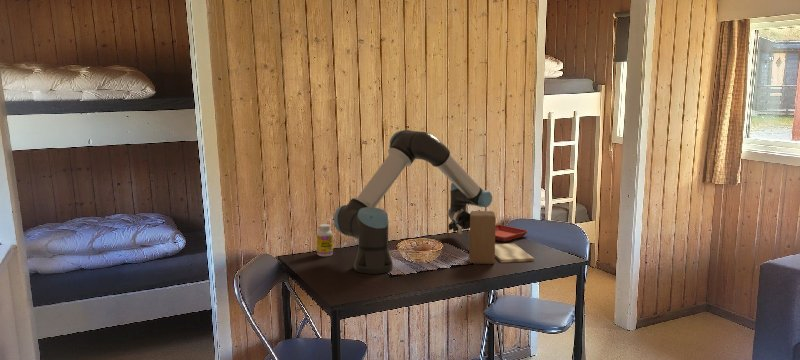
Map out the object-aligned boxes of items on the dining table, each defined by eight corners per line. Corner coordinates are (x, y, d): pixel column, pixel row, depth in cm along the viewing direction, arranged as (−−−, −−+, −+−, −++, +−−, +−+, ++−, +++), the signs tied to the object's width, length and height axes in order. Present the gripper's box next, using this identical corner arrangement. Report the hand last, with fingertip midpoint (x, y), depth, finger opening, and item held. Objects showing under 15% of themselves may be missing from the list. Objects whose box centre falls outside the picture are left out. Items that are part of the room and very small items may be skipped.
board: (500, 262, 253) (501, 259, 253) (483, 247, 276) (483, 244, 276) (533, 261, 255) (533, 258, 255) (514, 246, 278) (514, 243, 278)
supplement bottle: (319, 257, 260) (319, 227, 258) (315, 253, 266) (314, 224, 264) (335, 255, 263) (334, 226, 261) (330, 251, 269) (329, 222, 267)
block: (493, 257, 260) (494, 210, 257) (494, 264, 250) (495, 216, 247) (469, 257, 261) (470, 210, 258) (469, 264, 251) (470, 215, 248)
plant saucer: (504, 244, 284) (504, 236, 283) (474, 237, 297) (474, 230, 296) (528, 237, 296) (528, 230, 295) (498, 231, 309) (498, 224, 308)
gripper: (436, 212, 280) (447, 222, 259) (490, 210, 284) (505, 220, 263) (436, 228, 281) (447, 240, 260) (490, 226, 285) (505, 237, 264)
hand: (476, 230), depth 262 cm, fingers open, 13 cm apart
